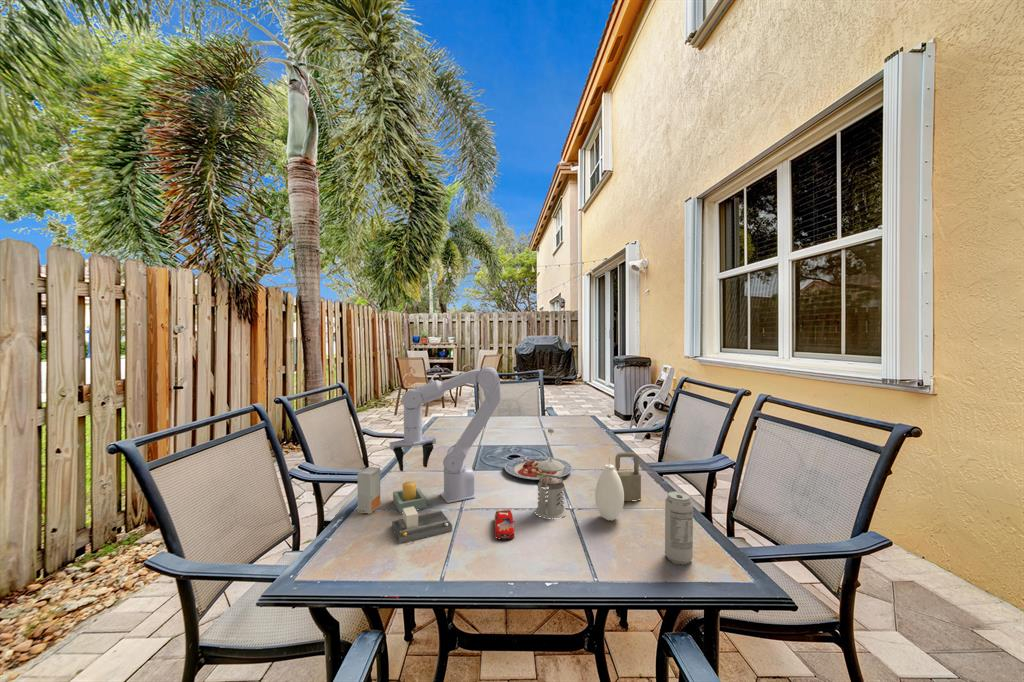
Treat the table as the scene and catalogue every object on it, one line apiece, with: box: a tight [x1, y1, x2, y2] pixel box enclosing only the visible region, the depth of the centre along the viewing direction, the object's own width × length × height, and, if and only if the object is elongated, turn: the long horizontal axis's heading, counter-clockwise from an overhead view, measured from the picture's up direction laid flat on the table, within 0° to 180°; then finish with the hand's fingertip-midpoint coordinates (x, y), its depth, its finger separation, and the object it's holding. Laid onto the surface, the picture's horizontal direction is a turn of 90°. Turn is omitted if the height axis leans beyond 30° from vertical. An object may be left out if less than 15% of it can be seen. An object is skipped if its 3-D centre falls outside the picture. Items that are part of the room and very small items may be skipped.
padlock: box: [614, 451, 642, 501], centre depth 127 cm, size 4×8×15 cm, turn 91°
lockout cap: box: [402, 481, 417, 502], centre depth 124 cm, size 4×4×6 cm
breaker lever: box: [402, 506, 419, 529], centre depth 107 cm, size 3×5×4 cm, turn 27°
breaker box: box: [391, 509, 453, 545], centre depth 109 cm, size 14×10×3 cm
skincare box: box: [357, 466, 381, 515], centre depth 121 cm, size 6×4×12 cm
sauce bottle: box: [594, 456, 625, 521], centre depth 114 cm, size 8×8×18 cm
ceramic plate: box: [503, 455, 573, 481], centre depth 153 cm, size 26×26×3 cm
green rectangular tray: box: [392, 487, 427, 514], centre depth 124 cm, size 8×10×3 cm
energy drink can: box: [664, 490, 694, 565], centre depth 94 cm, size 6×6×15 cm
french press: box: [534, 427, 568, 520], centre depth 118 cm, size 10×12×25 cm
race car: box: [493, 508, 515, 541], centre depth 109 cm, size 13×5×4 cm, turn 2°
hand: (413, 468), depth 129 cm, fingers open, 7 cm apart
